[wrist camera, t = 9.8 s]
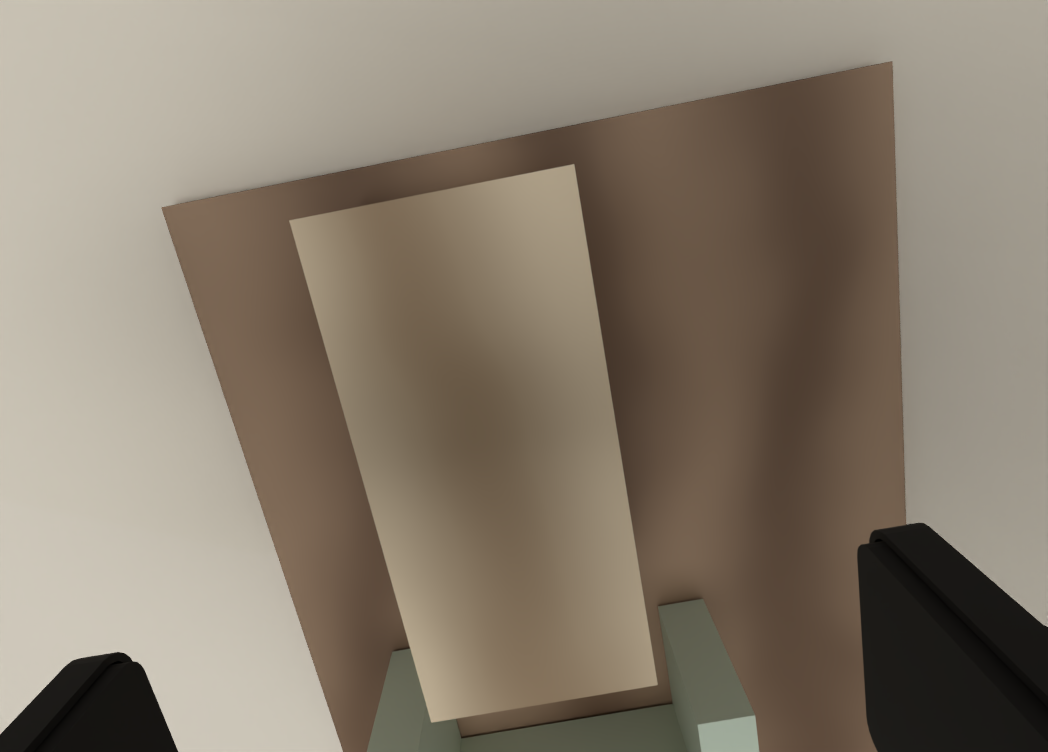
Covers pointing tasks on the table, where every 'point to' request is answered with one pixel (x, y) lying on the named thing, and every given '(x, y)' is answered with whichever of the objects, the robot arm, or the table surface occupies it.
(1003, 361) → the table surface
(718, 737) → the block
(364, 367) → the beige wooden brick
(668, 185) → the board
